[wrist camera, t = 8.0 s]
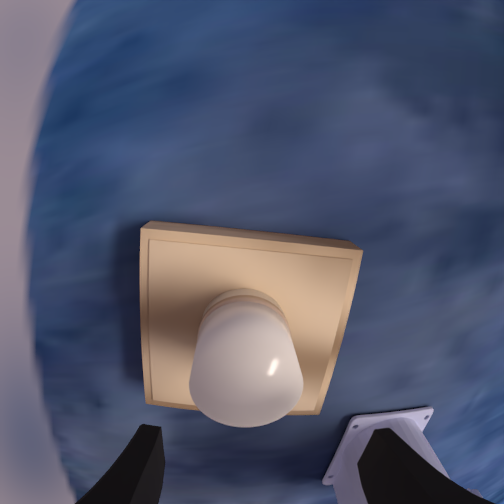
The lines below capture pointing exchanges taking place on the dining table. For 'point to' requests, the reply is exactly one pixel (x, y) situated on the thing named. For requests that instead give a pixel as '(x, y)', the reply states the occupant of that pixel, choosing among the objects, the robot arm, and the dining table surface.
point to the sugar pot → (245, 361)
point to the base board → (239, 277)
